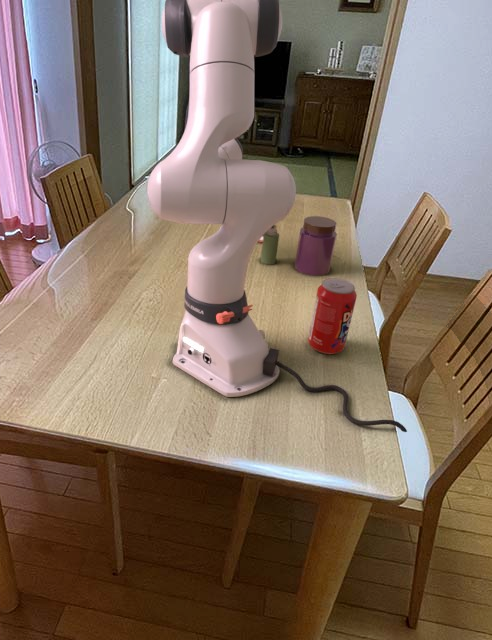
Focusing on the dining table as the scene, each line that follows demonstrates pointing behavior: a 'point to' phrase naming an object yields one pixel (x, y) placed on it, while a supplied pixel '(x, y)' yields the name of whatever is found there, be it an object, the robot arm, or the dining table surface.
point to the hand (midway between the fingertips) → (256, 229)
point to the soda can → (332, 315)
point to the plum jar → (316, 245)
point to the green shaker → (270, 246)
